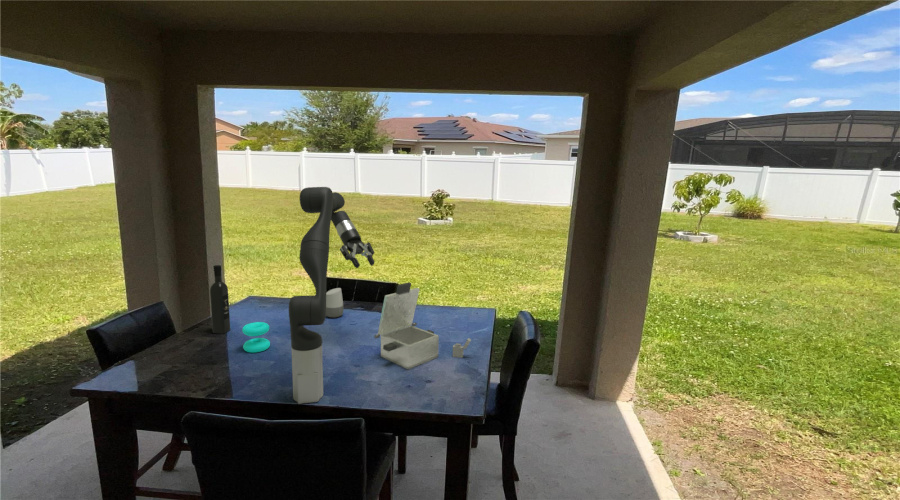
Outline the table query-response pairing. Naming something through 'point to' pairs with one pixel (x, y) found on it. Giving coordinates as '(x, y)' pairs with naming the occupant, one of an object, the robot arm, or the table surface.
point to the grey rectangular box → (409, 346)
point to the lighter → (460, 349)
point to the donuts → (256, 343)
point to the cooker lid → (398, 309)
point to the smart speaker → (334, 303)
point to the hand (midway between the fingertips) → (365, 265)
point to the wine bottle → (219, 303)
